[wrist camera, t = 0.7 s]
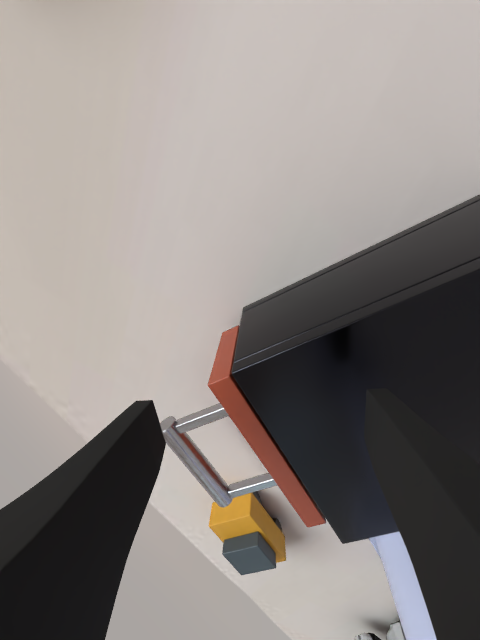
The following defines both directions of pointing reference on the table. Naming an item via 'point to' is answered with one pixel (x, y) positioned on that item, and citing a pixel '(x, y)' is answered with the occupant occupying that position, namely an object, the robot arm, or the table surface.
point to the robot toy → (393, 636)
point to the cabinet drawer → (253, 432)
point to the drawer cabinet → (368, 359)
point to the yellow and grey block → (248, 534)
